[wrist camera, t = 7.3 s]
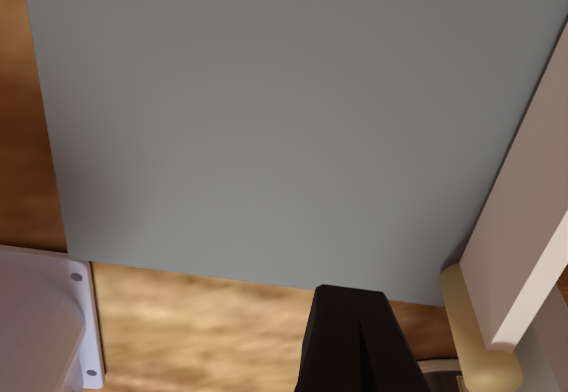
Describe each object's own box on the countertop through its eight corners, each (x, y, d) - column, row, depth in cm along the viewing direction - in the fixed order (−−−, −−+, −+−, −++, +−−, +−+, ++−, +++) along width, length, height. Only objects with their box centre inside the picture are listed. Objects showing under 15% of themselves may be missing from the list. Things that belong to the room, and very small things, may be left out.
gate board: (516, 299, 23) (582, 461, 17) (77, 242, 22) (-6, 391, 16) (903, -359, 11) (1561, -549, 5) (-36, -528, 10) (-494, -971, 4)
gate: (593, -82, 13) (702, -40, 9) (663, -71, 13) (800, -25, 9) (433, 291, 21) (457, 393, 17) (477, 297, 21) (510, 399, 17)
